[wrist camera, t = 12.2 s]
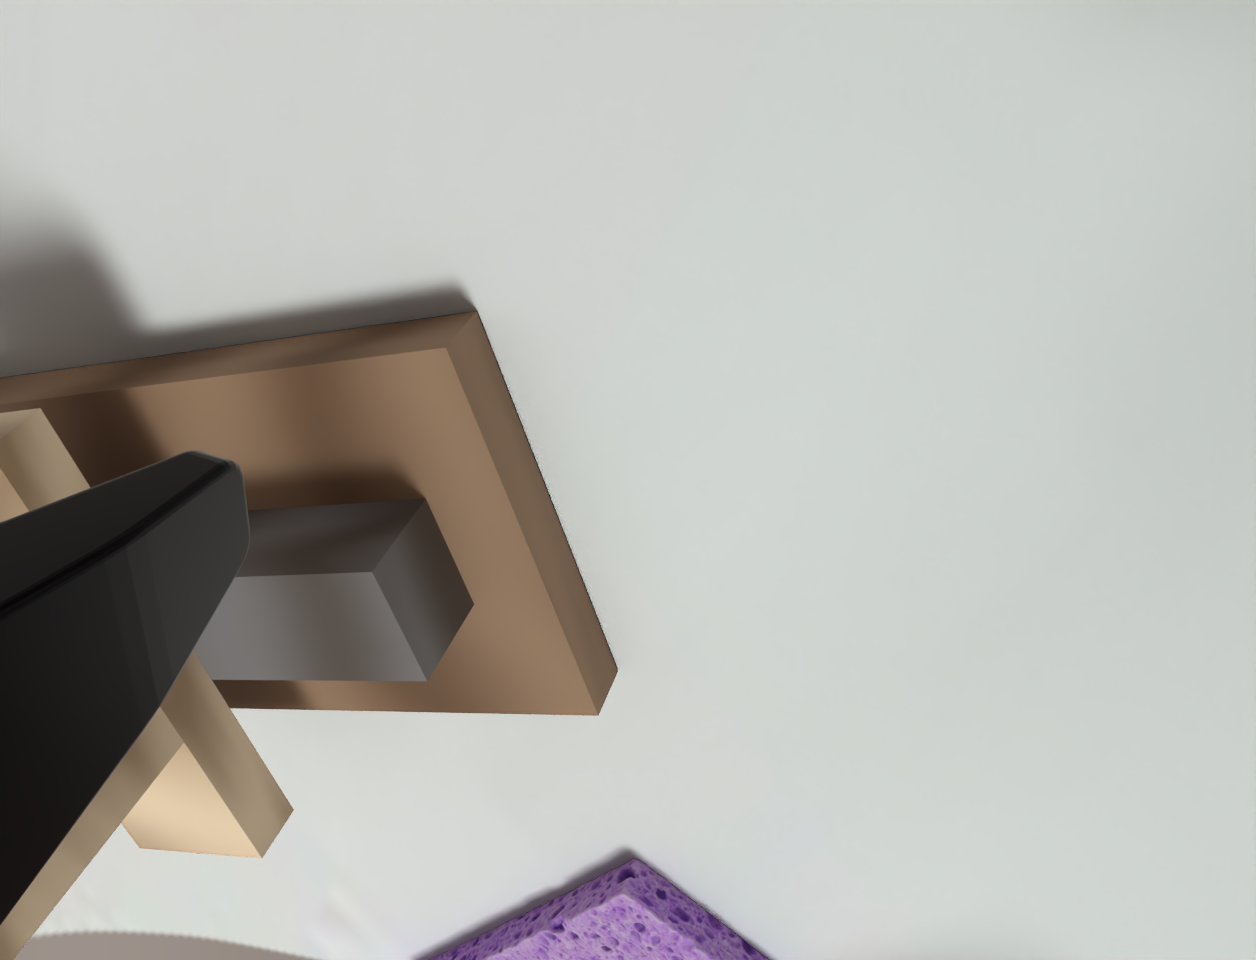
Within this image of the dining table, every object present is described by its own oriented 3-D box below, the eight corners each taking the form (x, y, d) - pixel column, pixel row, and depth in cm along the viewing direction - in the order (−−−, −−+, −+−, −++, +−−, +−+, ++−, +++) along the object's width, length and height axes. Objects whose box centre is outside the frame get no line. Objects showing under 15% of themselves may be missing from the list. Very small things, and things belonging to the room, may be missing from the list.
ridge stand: (476, 311, 24) (387, 416, 21) (617, 671, 29) (561, 797, 26) (-154, 399, 33) (-282, 484, 30) (41, 669, 38) (-52, 765, 35)
